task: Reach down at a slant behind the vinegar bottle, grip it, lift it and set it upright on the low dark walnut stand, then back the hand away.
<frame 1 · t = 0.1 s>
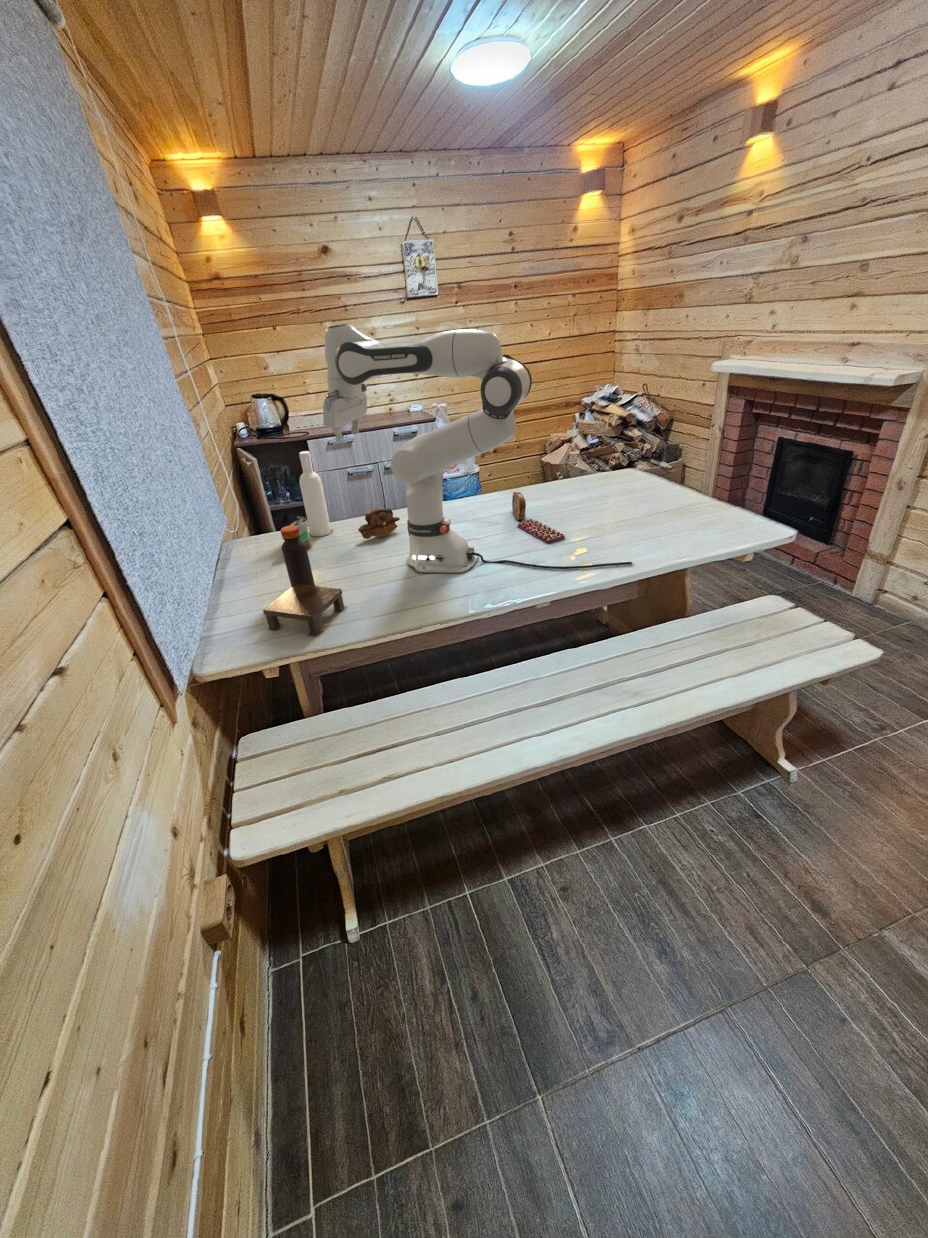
hand: (347, 437, 157), 39 cm above the table, tool pointing down, fingers open, 8 cm apart
wooden carving: (381, 536, 191), on the table
bottle: (321, 533, 197), on the table
vinegar: (304, 591, 157), on the table
chocolate bar: (539, 532, 186), on the table
food container: (303, 549, 185), on the table
stand: (307, 618, 143), on the table
tin: (518, 516, 202), on the table
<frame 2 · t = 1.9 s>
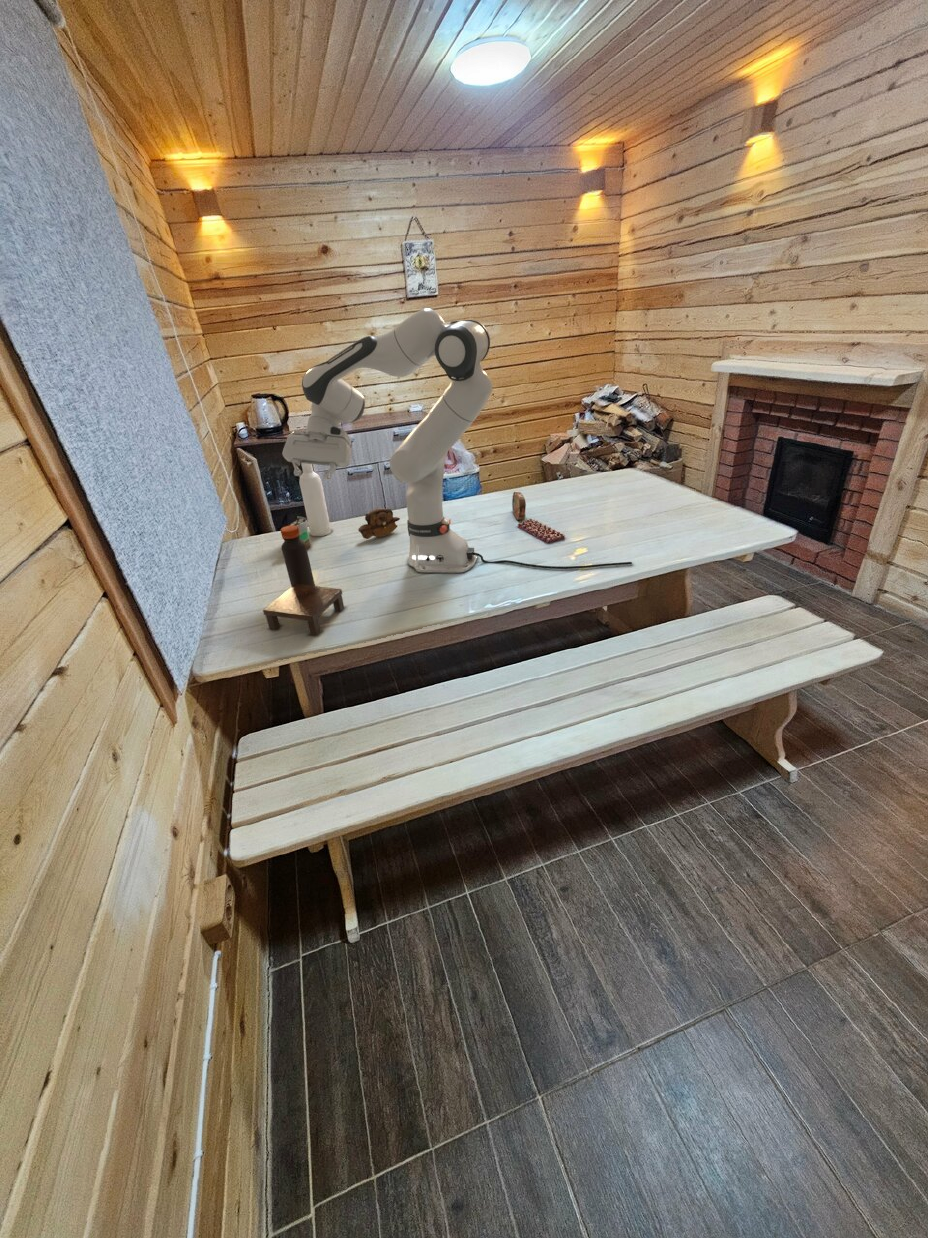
hand: (311, 476, 153), 30 cm above the table, tool tilted 40°, fingers open, 8 cm apart
nothing on the table moved.
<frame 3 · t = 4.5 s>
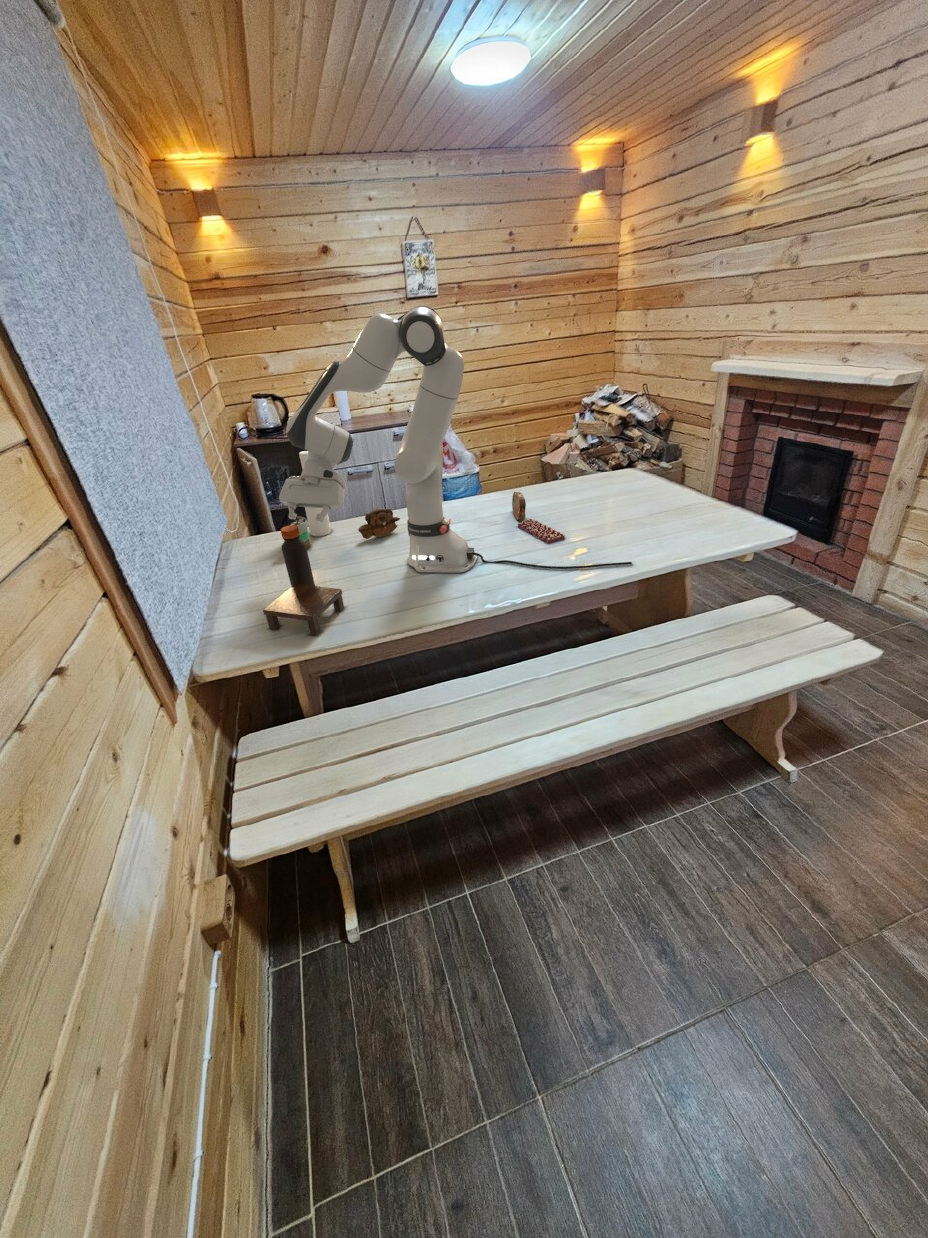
hand: (305, 519, 154), 19 cm above the table, tool tilted 45°, fingers open, 8 cm apart
nothing on the table moved.
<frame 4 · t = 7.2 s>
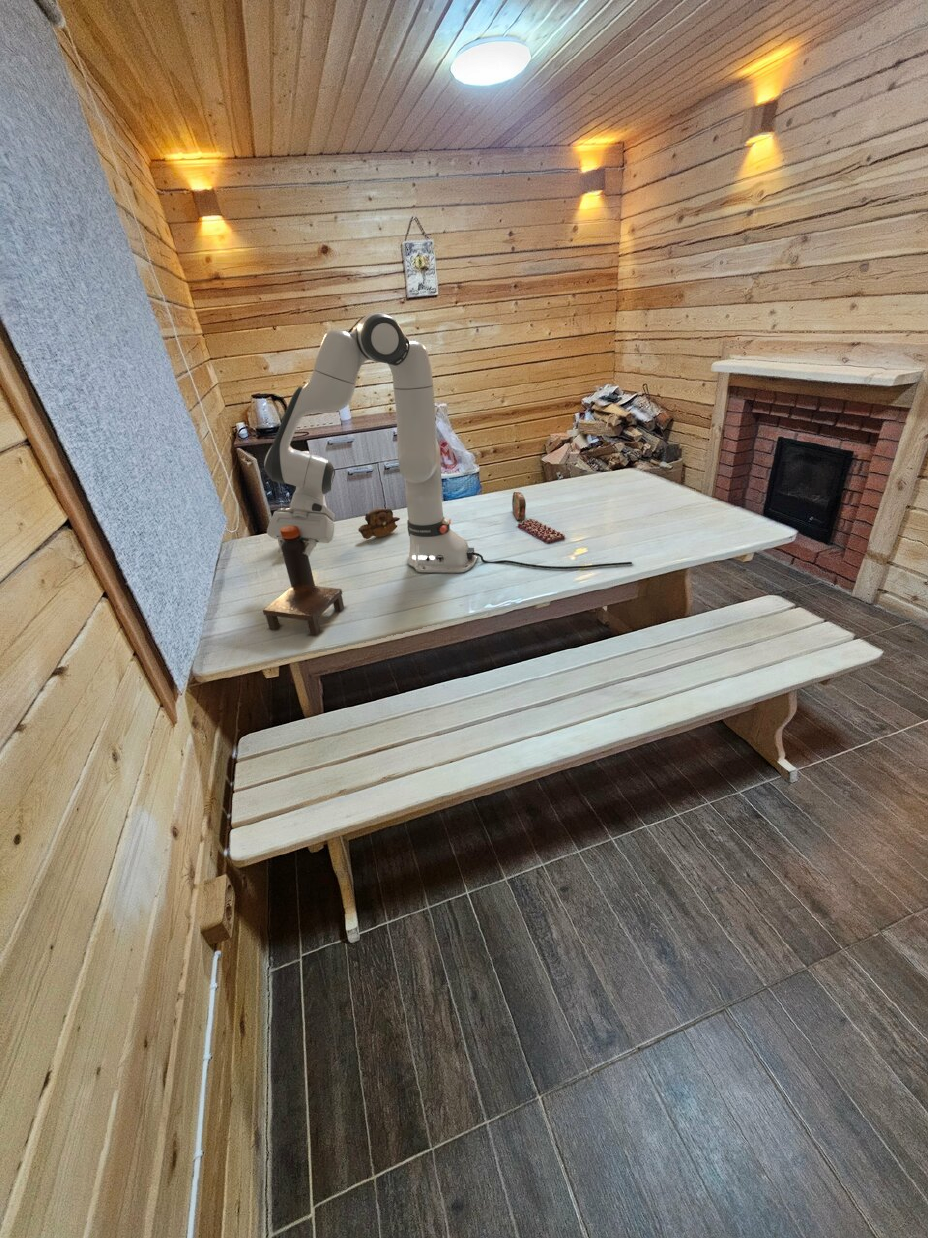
hand: (294, 554, 150), 12 cm above the table, tool tilted 45°, fingers closed on vinegar, 6 cm apart
vinegar: (304, 591, 157), on the table, touching gripper
everything else where it was.
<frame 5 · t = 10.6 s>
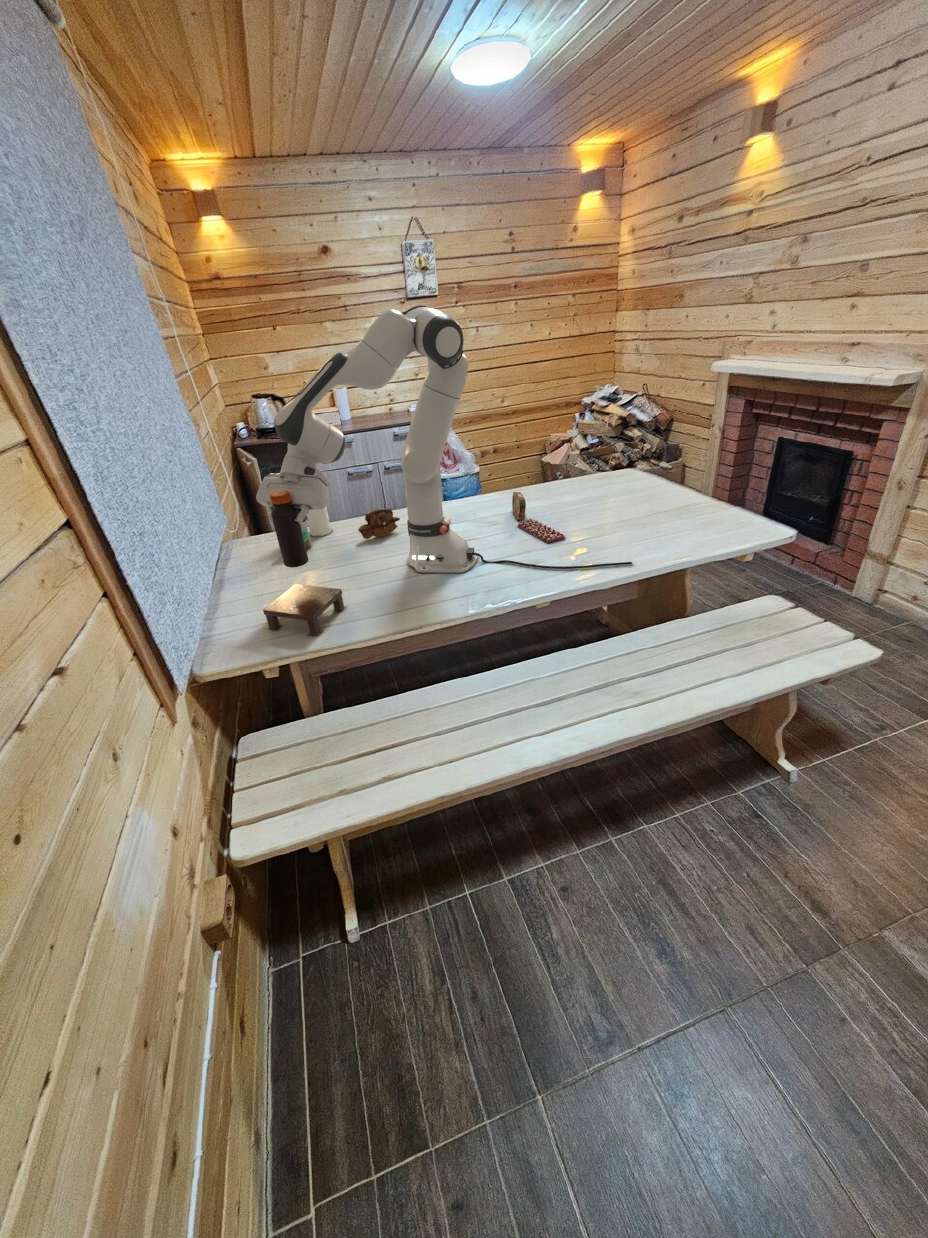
hand: (285, 521, 139), 24 cm above the table, tool tilted 45°, fingers closed on vinegar, 6 cm apart
vinegar: (296, 563, 146), point 12 cm above the table, touching gripper
everything else where it was.
when the fingers open (18 cm above the table, at t = 14.3 s): vinegar stays where it is, resting on stand.
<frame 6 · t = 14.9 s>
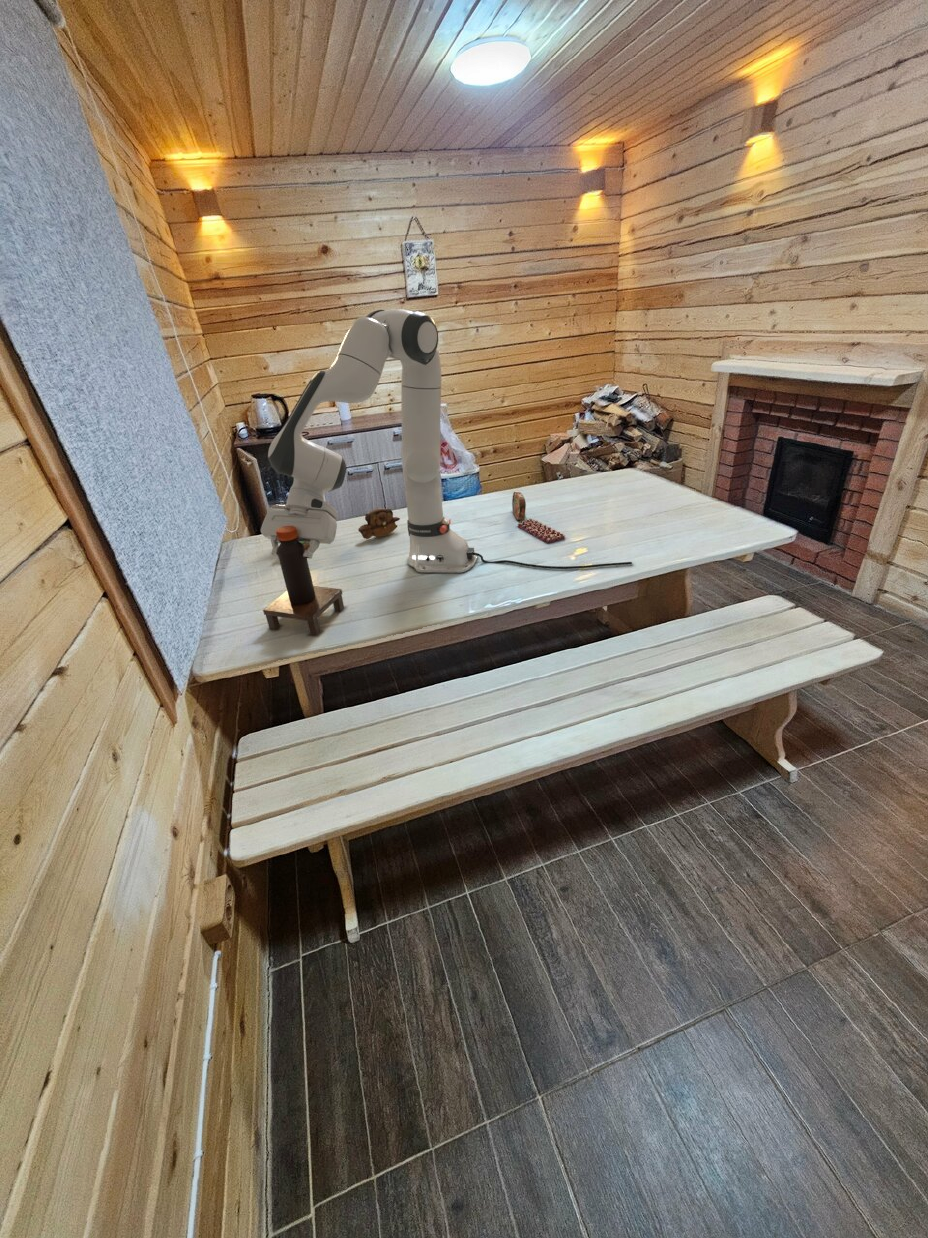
hand: (291, 556, 132), 19 cm above the table, tool tilted 45°, fingers open, 8 cm apart
vinegar: (303, 599, 140), point 6 cm above the table, touching stand
everything else where it was.
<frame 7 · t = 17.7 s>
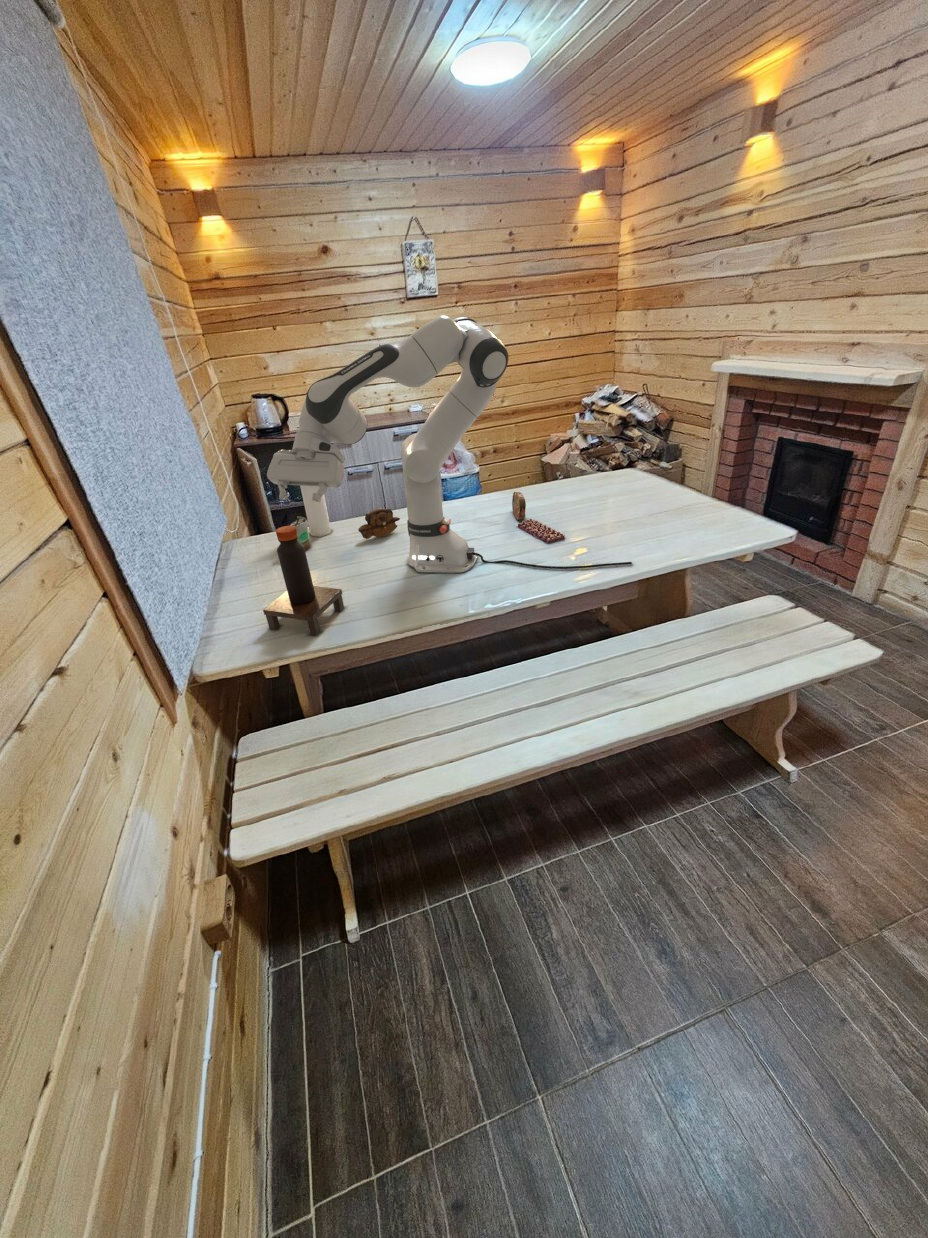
hand: (299, 500, 133), 31 cm above the table, tool tilted 45°, fingers open, 8 cm apart
nothing on the table moved.
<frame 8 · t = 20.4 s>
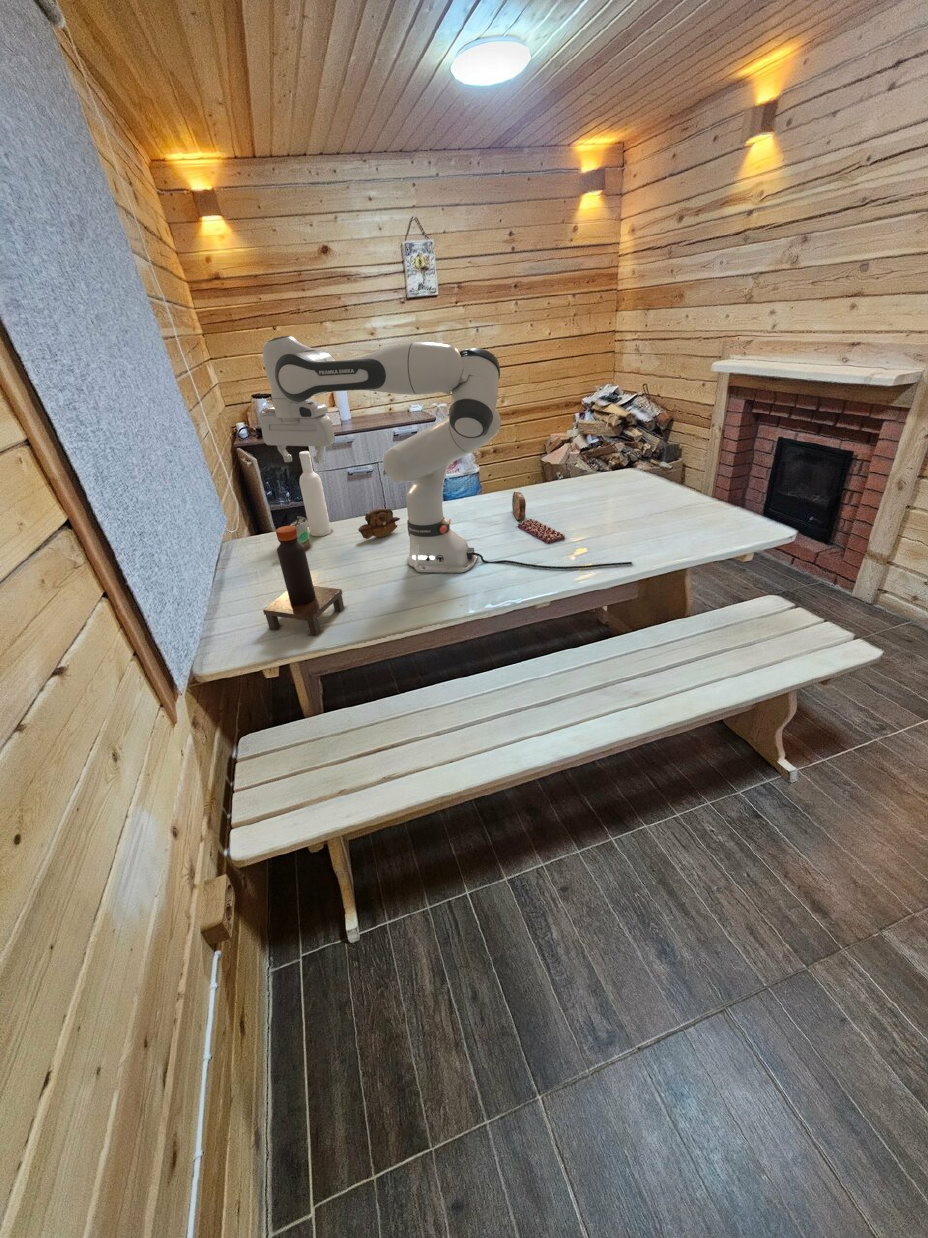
hand: (303, 462, 141), 37 cm above the table, tool pointing down, fingers open, 8 cm apart
nothing on the table moved.
at the end: vinegar inside the target area on the stand (0.1 cm from its centre), point 5.8 cm above the stand's base; vinegar tilted 0°; the gripper is holding nothing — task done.
